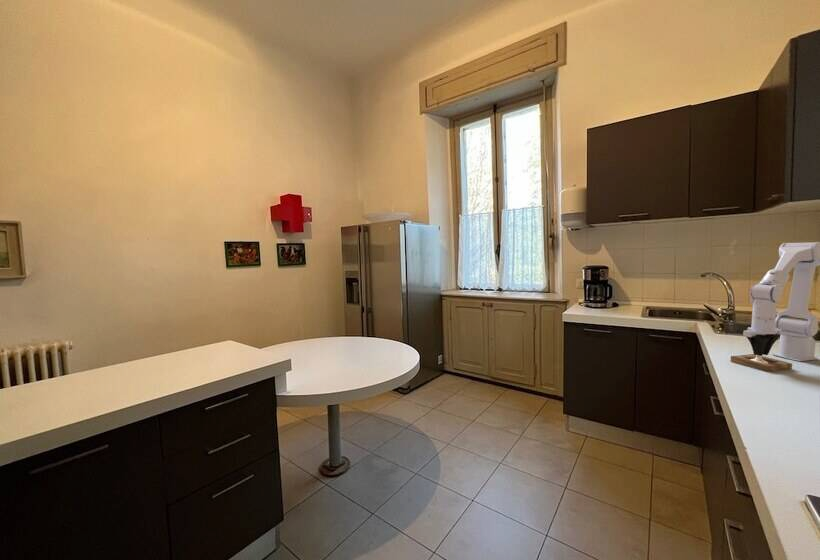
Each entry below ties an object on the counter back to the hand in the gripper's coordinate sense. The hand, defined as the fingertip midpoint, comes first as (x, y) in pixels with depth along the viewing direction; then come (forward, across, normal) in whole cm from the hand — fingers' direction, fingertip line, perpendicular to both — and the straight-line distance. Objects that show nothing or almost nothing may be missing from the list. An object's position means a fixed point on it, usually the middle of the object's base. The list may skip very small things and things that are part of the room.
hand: (760, 354), depth 117 cm
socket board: (+4, 0, 0) cm, 4 cm away
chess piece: (+4, 0, 0) cm, 4 cm away
